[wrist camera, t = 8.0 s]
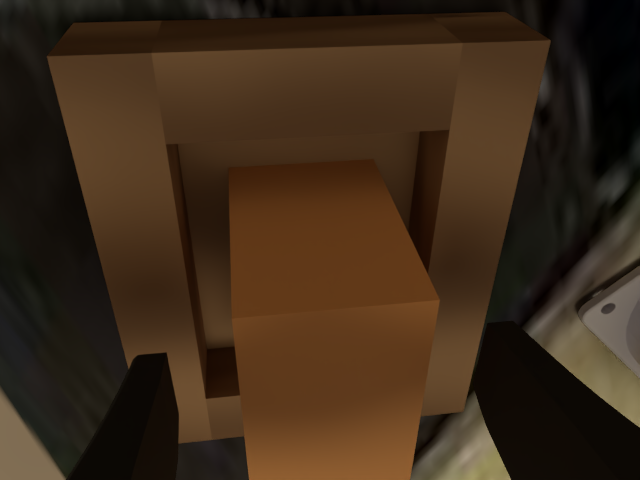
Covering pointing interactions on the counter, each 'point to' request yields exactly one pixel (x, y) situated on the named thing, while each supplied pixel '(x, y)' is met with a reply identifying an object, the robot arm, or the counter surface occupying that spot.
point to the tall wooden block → (327, 322)
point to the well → (291, 148)
